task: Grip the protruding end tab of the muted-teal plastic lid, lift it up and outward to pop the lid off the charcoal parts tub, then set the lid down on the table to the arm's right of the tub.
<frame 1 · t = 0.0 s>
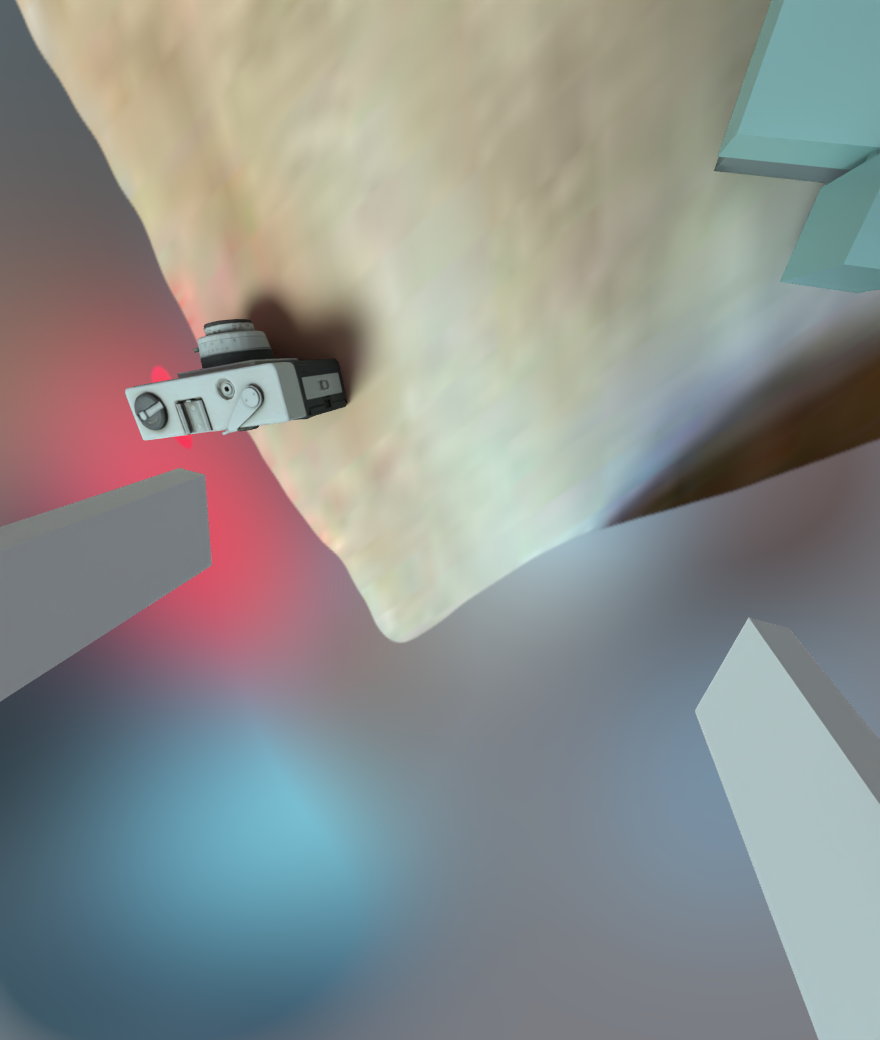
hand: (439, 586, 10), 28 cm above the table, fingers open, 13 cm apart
camera: (274, 372, 40), on the table
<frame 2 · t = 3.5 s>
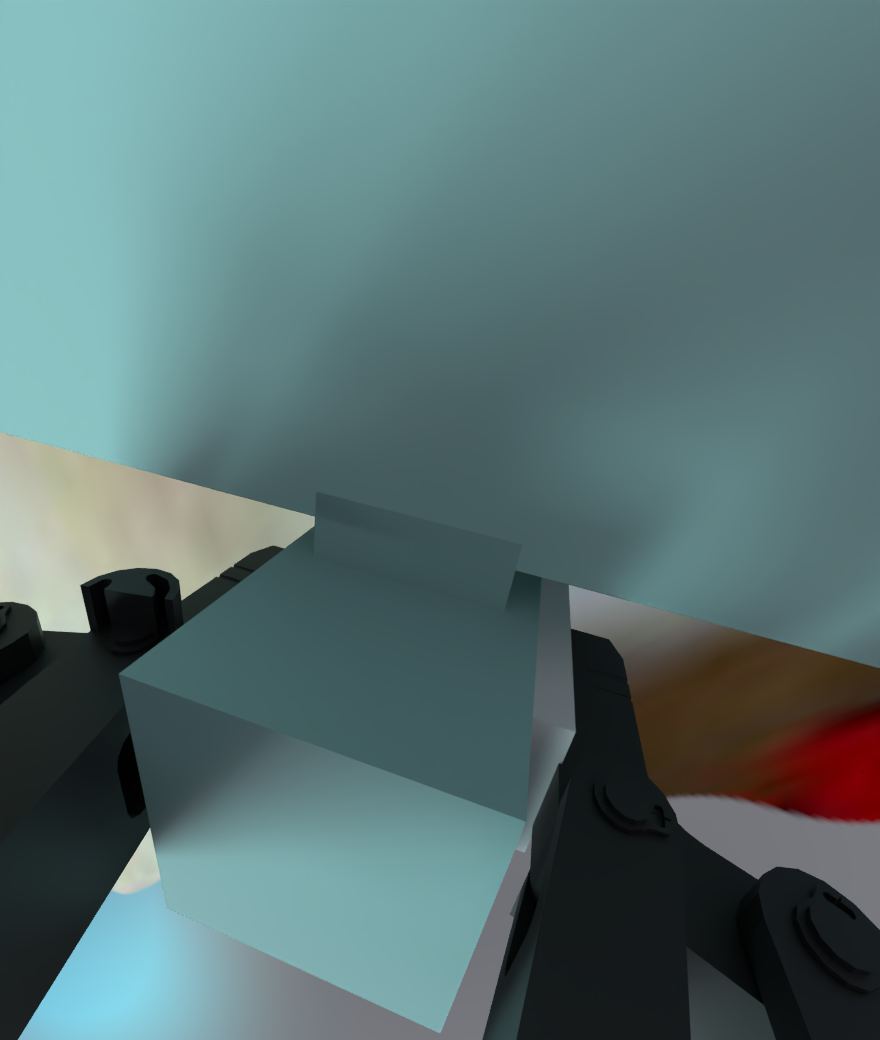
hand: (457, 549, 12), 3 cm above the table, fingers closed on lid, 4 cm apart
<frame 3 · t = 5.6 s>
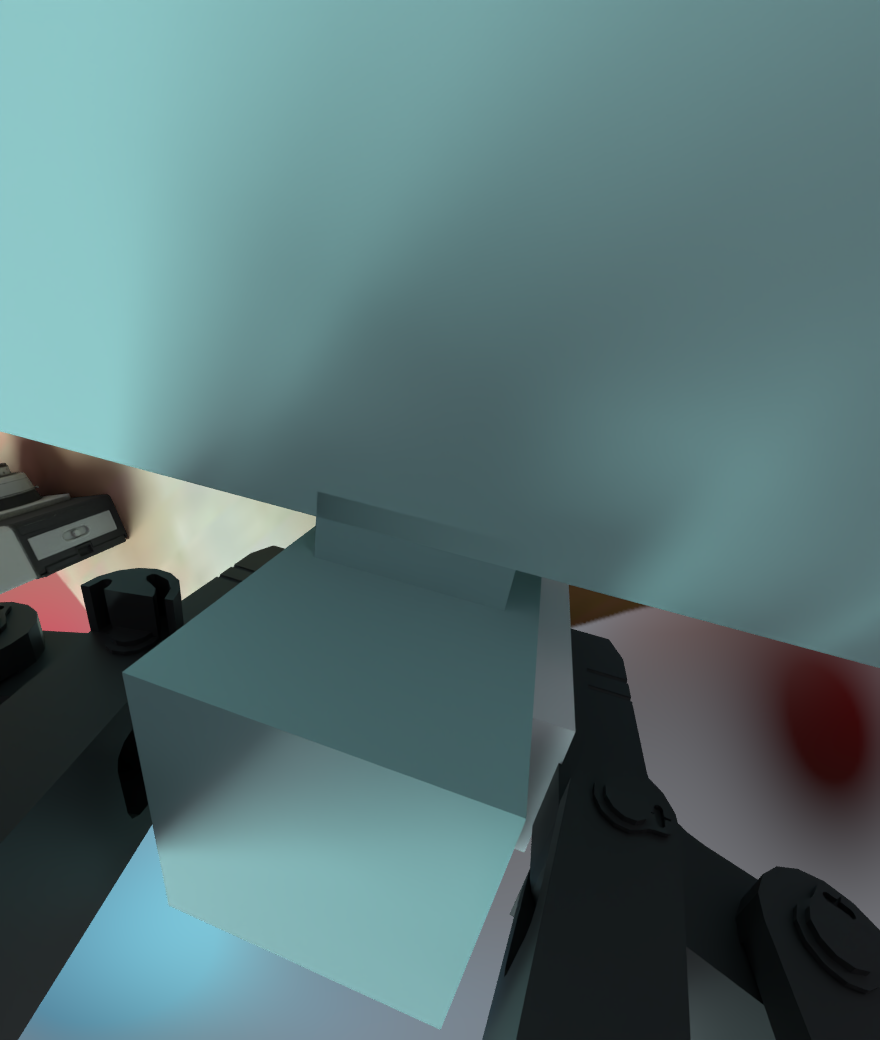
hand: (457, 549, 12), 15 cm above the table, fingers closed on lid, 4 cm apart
camera: (56, 502, 37), on the table
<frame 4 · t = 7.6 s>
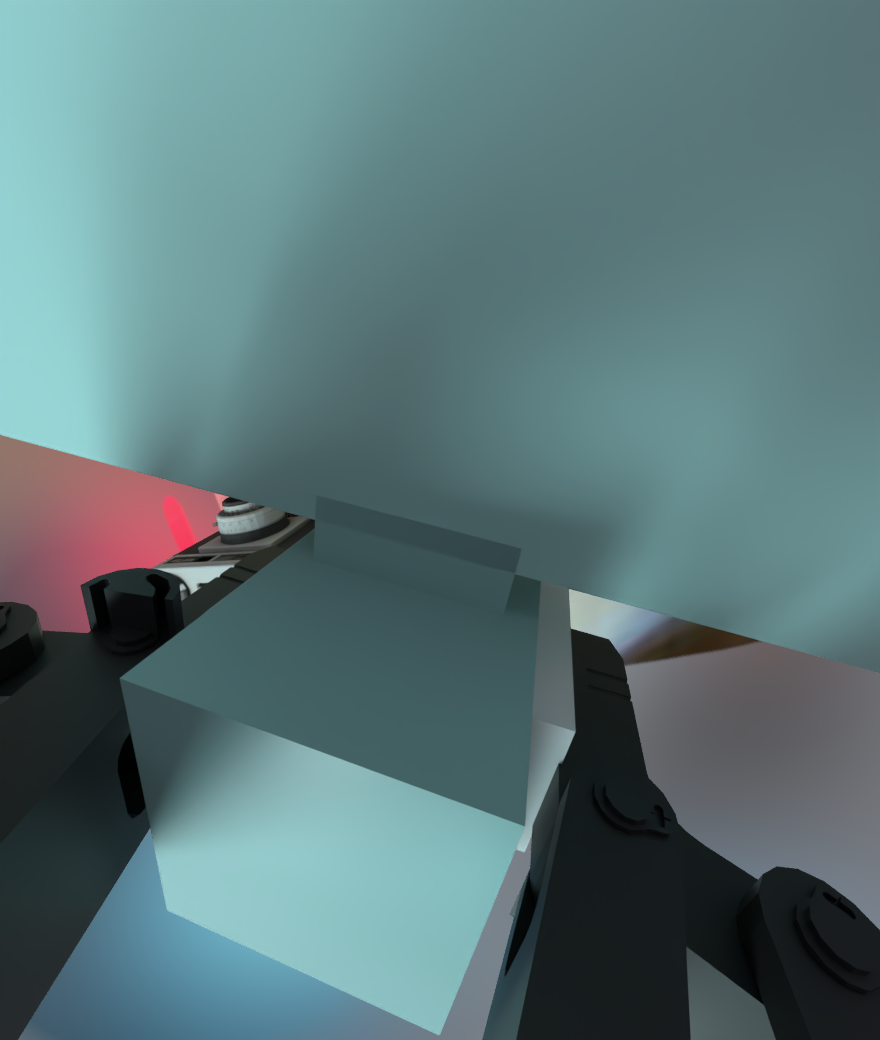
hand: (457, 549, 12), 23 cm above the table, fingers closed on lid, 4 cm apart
camera: (287, 522, 42), on the table
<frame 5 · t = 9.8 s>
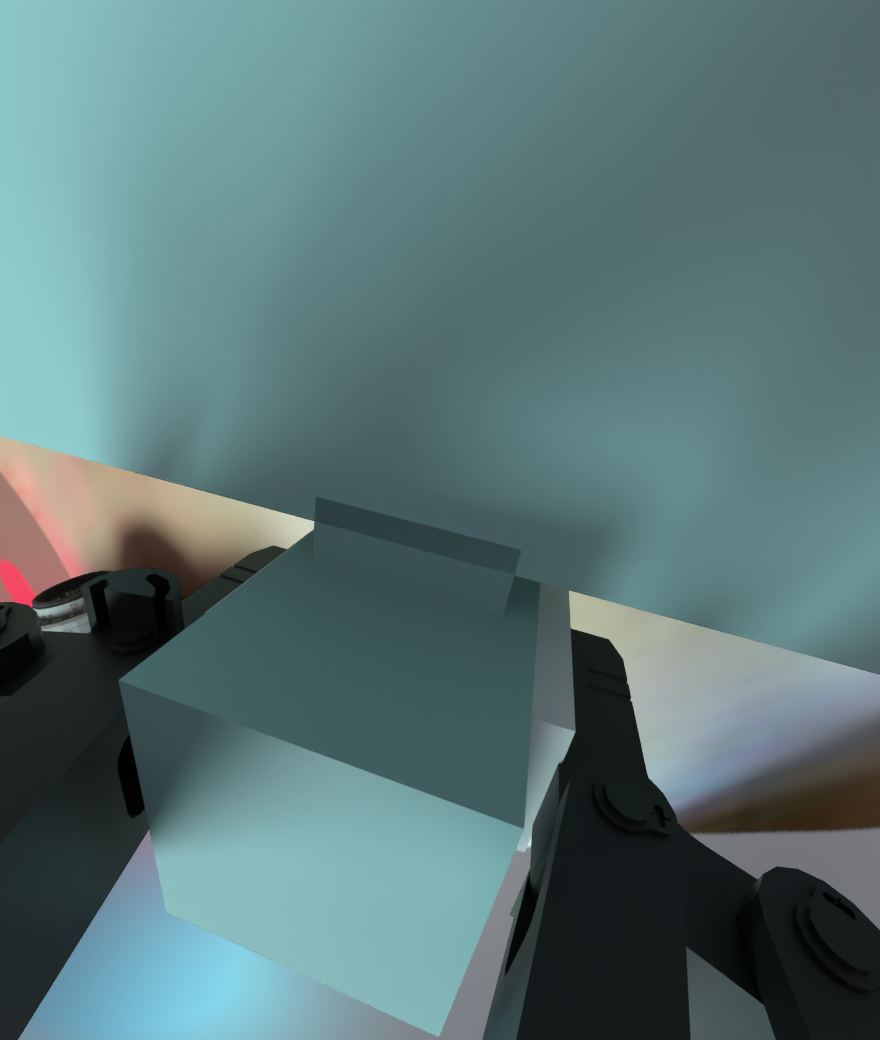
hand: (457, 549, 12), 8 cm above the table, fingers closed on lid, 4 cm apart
camera: (167, 607, 28), on the table
when the fingers open (2 cm above the table, at t = 11.5 s): lid drops 4 cm, point 2 cm above the table.
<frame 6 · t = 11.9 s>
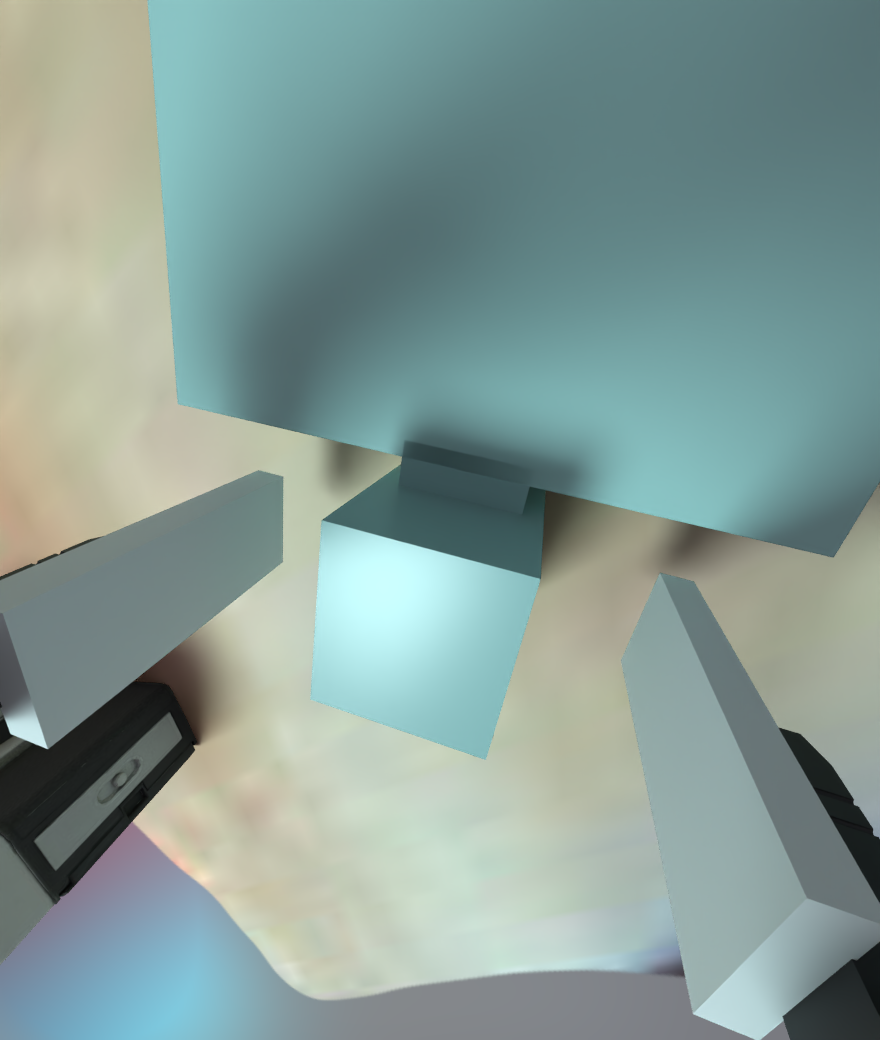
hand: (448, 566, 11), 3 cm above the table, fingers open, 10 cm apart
camera: (78, 679, 23), on the table
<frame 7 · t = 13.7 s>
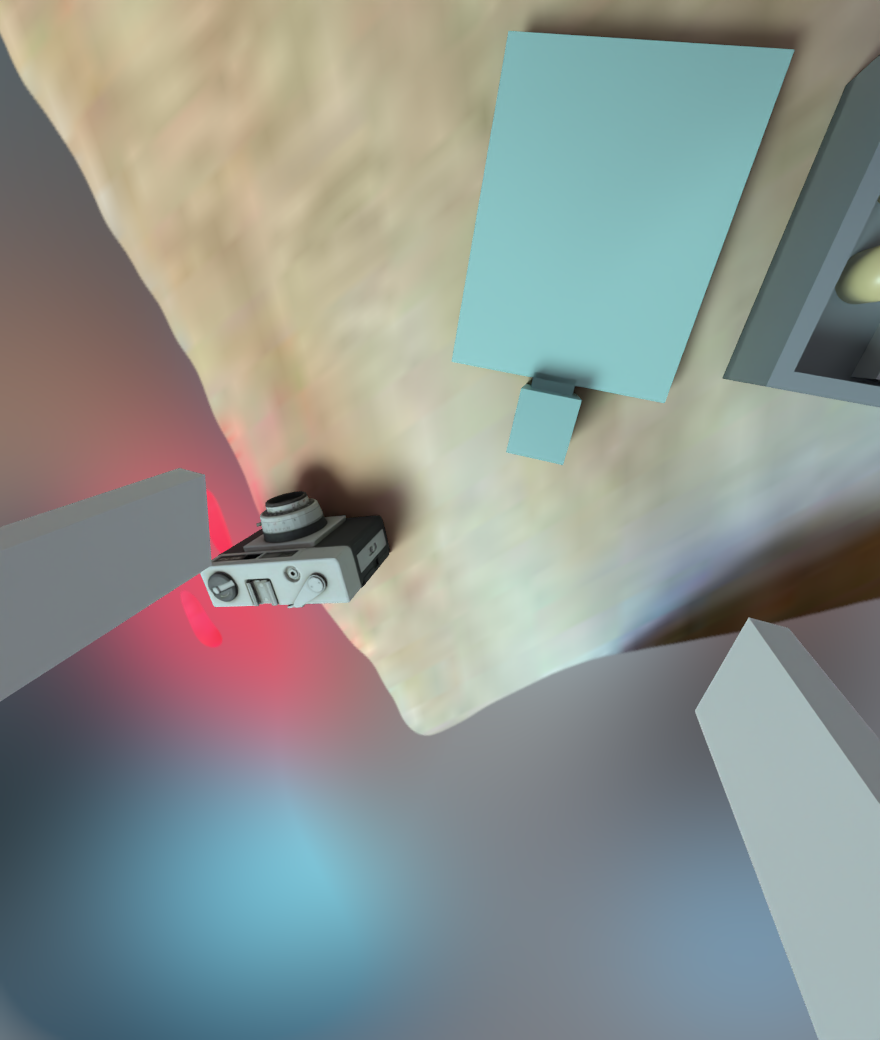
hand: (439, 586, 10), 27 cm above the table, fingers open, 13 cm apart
lid: (591, 237, 28), point 2 cm above the table
camera: (322, 522, 44), on the table
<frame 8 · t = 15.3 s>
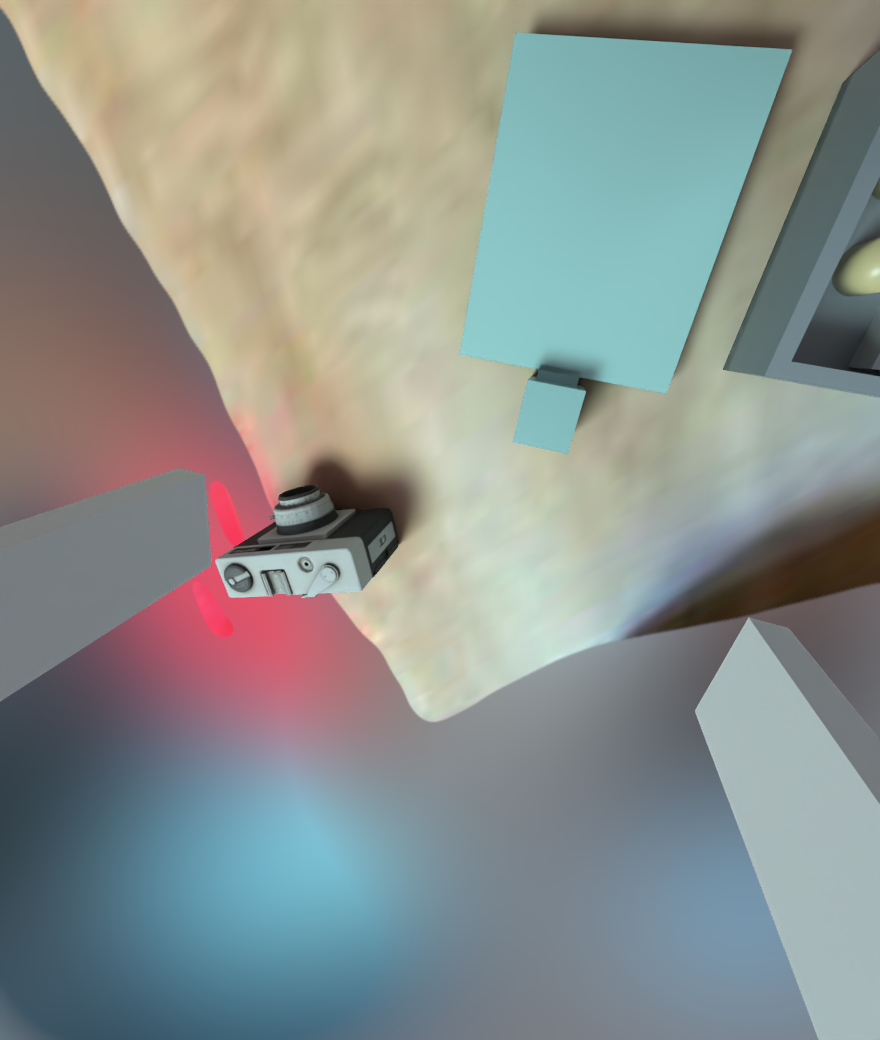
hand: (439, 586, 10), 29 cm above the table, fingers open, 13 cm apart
lid: (595, 233, 29), point 2 cm above the table
camera: (332, 515, 45), on the table
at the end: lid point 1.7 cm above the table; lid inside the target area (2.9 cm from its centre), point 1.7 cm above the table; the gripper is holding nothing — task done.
